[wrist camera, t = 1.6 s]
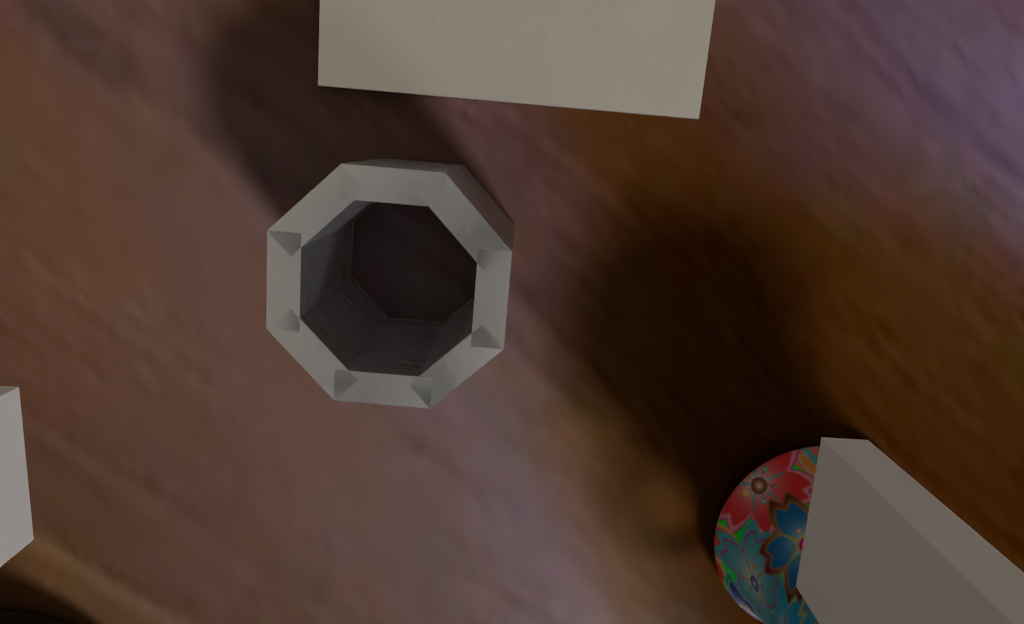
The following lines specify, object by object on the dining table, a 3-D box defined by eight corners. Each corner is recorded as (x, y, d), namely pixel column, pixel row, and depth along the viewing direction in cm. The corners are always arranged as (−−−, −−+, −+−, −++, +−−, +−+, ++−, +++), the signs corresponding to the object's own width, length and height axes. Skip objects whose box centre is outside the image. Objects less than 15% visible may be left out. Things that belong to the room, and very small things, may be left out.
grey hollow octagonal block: (325, 335, 29) (265, 394, 22) (330, 152, 28) (267, 156, 21) (503, 350, 29) (498, 414, 23) (519, 169, 28) (518, 179, 21)
